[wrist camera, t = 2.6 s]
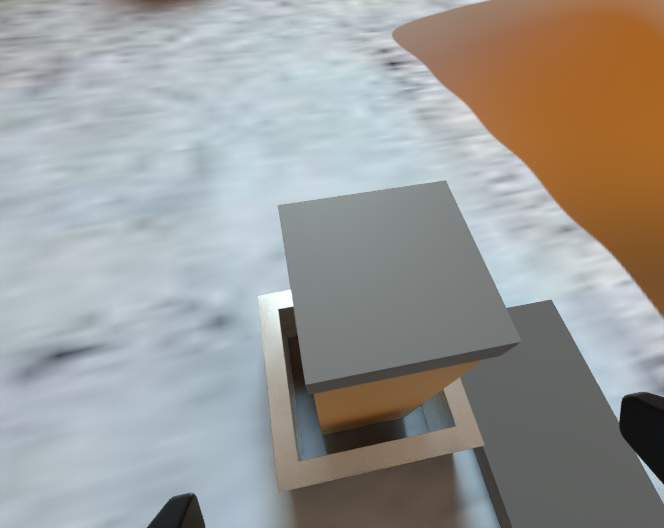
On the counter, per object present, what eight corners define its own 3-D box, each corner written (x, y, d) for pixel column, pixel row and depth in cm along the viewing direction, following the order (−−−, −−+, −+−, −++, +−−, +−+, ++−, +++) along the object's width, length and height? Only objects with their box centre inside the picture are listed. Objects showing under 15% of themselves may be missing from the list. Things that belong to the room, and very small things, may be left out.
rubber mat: (683, 582, 14) (711, 591, 13) (535, 624, 14) (552, 637, 13) (539, 308, 20) (551, 299, 19) (431, 329, 19) (437, 321, 18)
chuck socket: (452, 450, 17) (484, 445, 13) (289, 487, 16) (278, 492, 12) (404, 302, 20) (420, 268, 17) (271, 326, 20) (258, 296, 16)
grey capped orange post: (406, 419, 17) (521, 341, 7) (320, 437, 17) (305, 384, 6) (383, 336, 19) (445, 180, 9) (306, 351, 19) (278, 205, 8)
